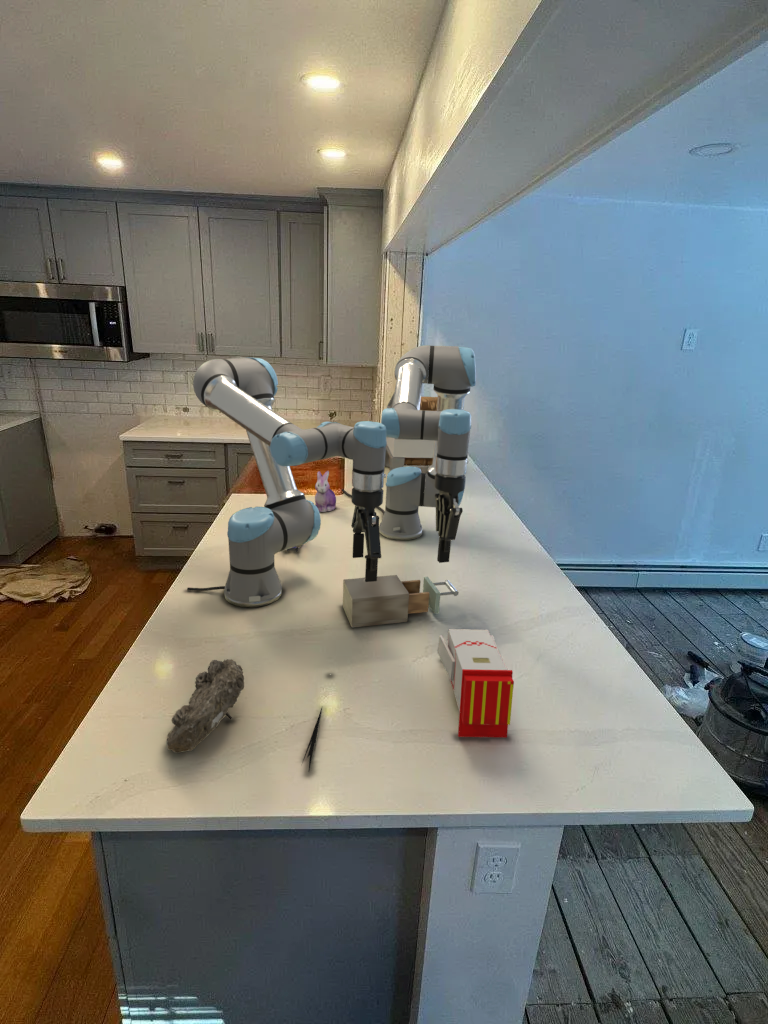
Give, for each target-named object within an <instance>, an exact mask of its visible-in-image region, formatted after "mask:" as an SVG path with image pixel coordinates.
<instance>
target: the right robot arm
mask: <svg viewBox="0 0 768 1024" xmlns="http://www.w3.org/2000/svg"><path fill="white" fill-rule="evenodd" d="M476 370H477V368H476V355H475V351H474V350H473V348H471V347H466V346H459V345H457V346H455V345H430V344H425V345H419V346H416V347H413V348H411V349H410V350H408V351H407V352H405V353H404V354H403V355H402V356H401V357H400V358H399V359H398V361H397V362H396V365H395V368H394V380H395V387H394V392H393V394H394V397H393V403H392V408H387V407H385V408H384V409H383V410H382V411H381V418H380V423H382V424H383V425H384V426H385V427H386V437H389V438H395V439H398V438H399V439H419V440H420V439H421V440H434V451H433V464H432V465H430V466H427V467H428V468H427V472H422V469H421V468H420V467H419V466H418V467H417V466H404V467H399V468H395V469H393V470H391V471H390V470H389V471H388V473H387V474H386V482H385V487H386V488H385V489H386V490H385V504H384V505H385V507H384V508H385V509H383V508H382V507H380V506H379V507H376V508H375V509H378V510H379V511H380V512H381V513H382V519H381V522H379V533H380V535H381V536H382V537H385V538H387V539H389V540H395V541H410V540H415V539H418V538H420V537H421V536H422V535H423V525H422V524H421V518H420V515H419V507H425V508H435V531H436V532H437V535H438V544H437V545H438V546H437V562H438V563H439V564H441V563H450V555H451V546H452V541H455V540H456V538H457V532H458V530H459V524H460V518H461V515H462V514H463V512H464V511H463V508H462V507H460V505H461V504H462V502H463V501H462V500H463V497H464V493H465V489H466V478H467V477H466V474H467V467H468V464H469V460H468V456H469V445H470V439H471V438H470V437H471V429H472V414H471V413H470V412H469V411H467V410H464V408H465V397H466V396H467V395H469V394H470V393H471V388H473V387H475V386H476V384H477V383H476V380H477V373H476V372H477V371H476ZM424 384H427V385H433V391H434V393H435V394H436V395H437V397H438V399H437V411H425V410H419V409H420V399H421V397H422V386H423V385H424ZM341 491H342V493H344V494H345V495H346V496H348V497H349V498H352V494H350V493H348V492H347V491H346V490H345V489H344V488H342V489H341Z"/></svg>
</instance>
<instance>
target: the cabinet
mask: <svg viewBox="0 0 768 1024" xmlns="http://www.w3.org/2000/svg"><path fill="white" fill-rule="evenodd" d="M408 603H409V593H408V591H407V590H406V588H405V587H404V585H403V584H402V582H401V579H400V577H399V576H398V575H397V574H393V575H392V574H391V575H380V576H377V581H373V582H366V581H365V577H355V578H346V579H343V583H342V608H343V610H344V613H345V615H346V618H347V620H348V622H349V625H350V627H351V628H352V629H353V628H361V627H370V626H379V625H389V624H397V623H408V616H409V614H408Z"/></svg>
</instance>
